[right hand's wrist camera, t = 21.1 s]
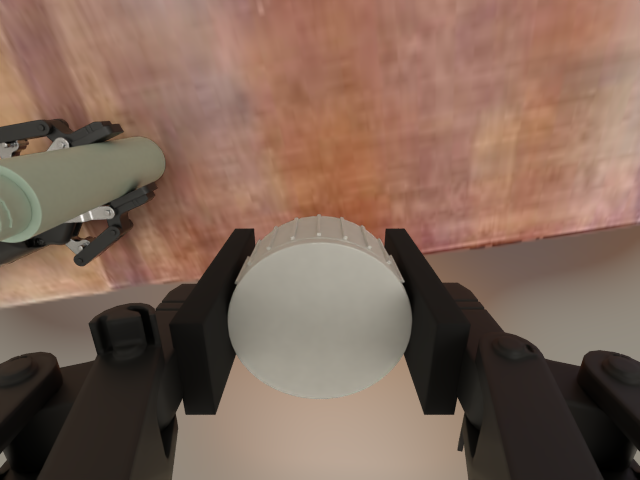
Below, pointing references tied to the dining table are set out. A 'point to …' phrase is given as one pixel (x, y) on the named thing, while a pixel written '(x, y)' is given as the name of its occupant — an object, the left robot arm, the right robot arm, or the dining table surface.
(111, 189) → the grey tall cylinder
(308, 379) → the lid
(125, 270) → the dining table surface
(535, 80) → the dining table surface
